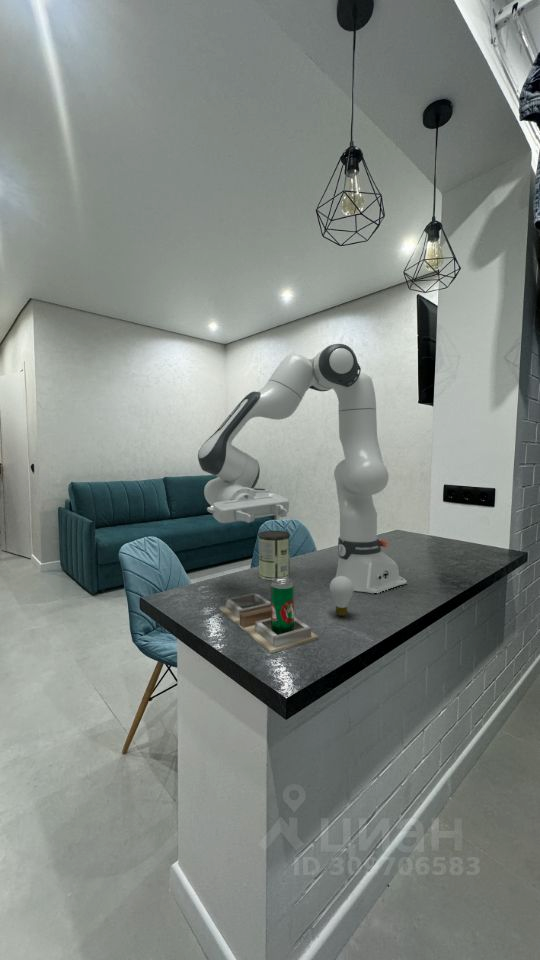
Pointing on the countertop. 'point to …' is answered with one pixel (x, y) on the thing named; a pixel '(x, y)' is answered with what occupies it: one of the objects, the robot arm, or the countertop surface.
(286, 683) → the countertop surface
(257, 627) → the socket board
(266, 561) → the coffee can
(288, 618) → the soda can
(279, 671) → the countertop surface
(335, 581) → the light bulb
